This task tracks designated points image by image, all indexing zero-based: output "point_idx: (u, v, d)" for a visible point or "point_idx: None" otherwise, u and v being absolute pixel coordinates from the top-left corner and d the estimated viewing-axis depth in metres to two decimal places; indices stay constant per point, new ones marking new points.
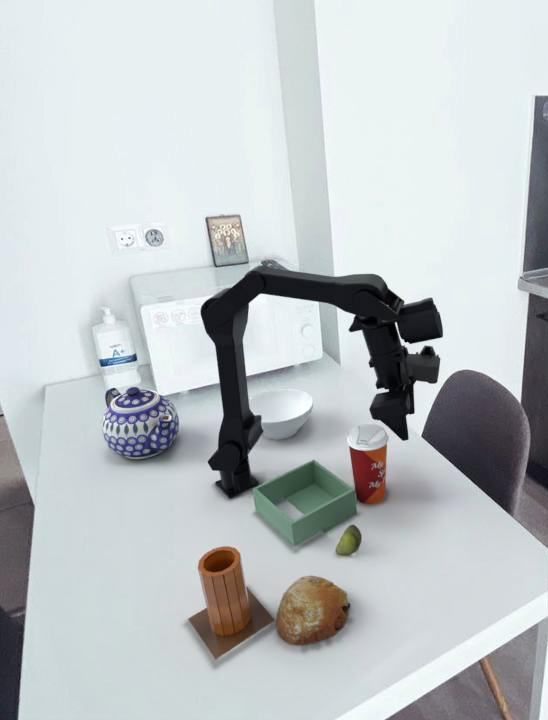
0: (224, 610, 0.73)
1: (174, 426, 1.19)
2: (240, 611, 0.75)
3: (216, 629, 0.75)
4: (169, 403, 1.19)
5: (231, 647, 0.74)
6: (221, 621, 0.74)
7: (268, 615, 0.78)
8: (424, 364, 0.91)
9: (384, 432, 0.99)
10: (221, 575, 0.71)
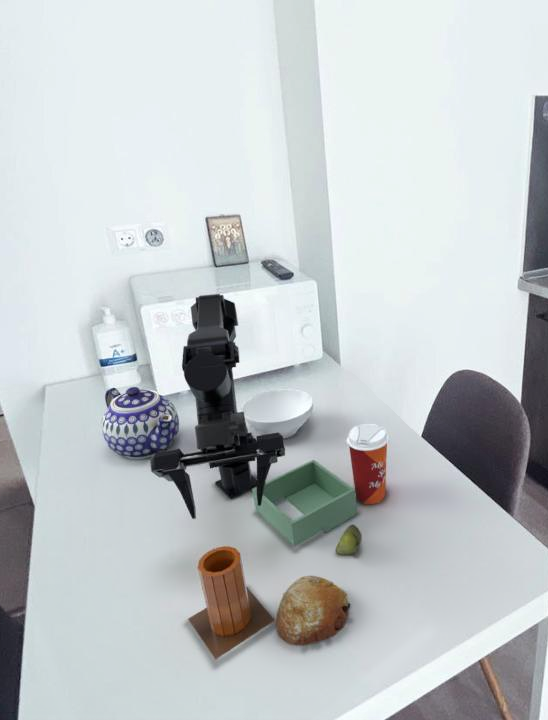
0: (224, 610, 0.73)
1: (174, 426, 1.19)
2: (240, 611, 0.75)
3: (216, 629, 0.75)
4: (169, 403, 1.19)
5: (231, 647, 0.74)
6: (221, 621, 0.74)
7: (268, 615, 0.78)
8: (201, 424, 0.78)
9: (384, 432, 0.99)
10: (221, 575, 0.71)
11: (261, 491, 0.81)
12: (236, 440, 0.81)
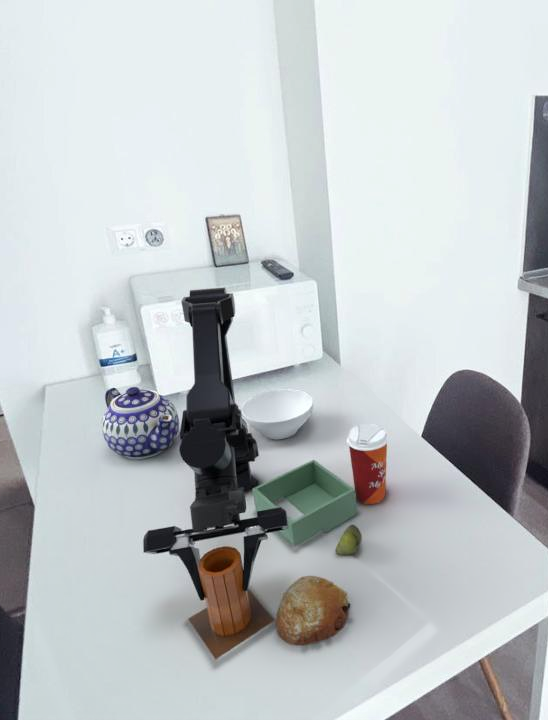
0: (224, 610, 0.73)
1: (174, 426, 1.19)
2: (240, 611, 0.75)
3: (216, 629, 0.75)
4: (169, 403, 1.19)
5: (231, 647, 0.74)
6: (221, 621, 0.74)
7: (268, 615, 0.78)
8: (197, 502, 0.72)
9: (384, 432, 0.99)
10: (221, 575, 0.71)
11: (248, 575, 0.75)
12: (235, 517, 0.75)
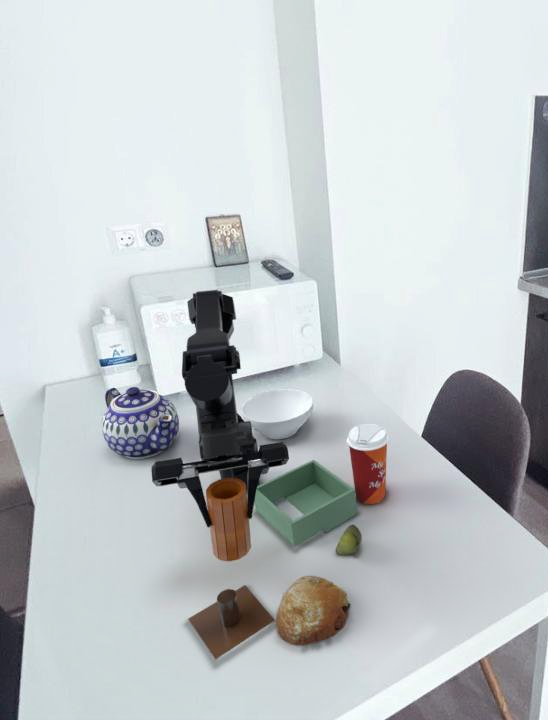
0: (230, 536, 0.78)
1: (174, 426, 1.19)
2: (244, 538, 0.80)
3: (220, 555, 0.79)
4: (169, 403, 1.19)
5: (231, 647, 0.74)
6: (226, 547, 0.79)
7: (268, 615, 0.78)
8: (206, 434, 0.76)
9: (384, 432, 0.99)
10: (230, 501, 0.75)
11: (252, 504, 0.79)
12: (240, 449, 0.79)
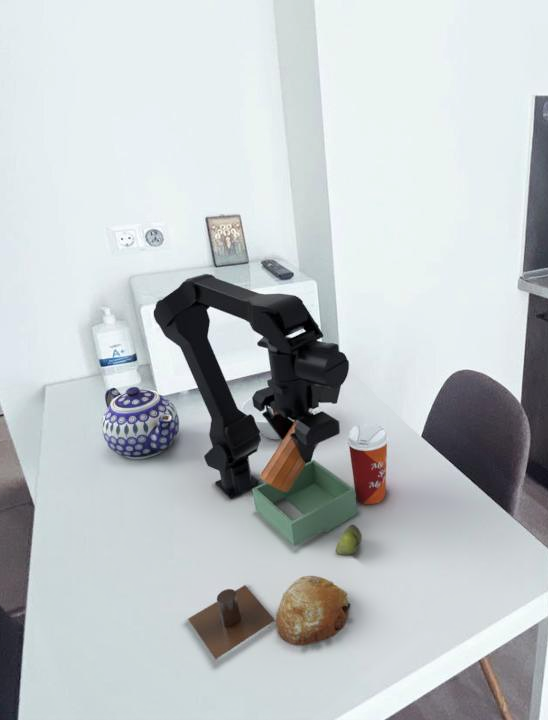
0: None
1: (174, 426, 1.19)
2: None
3: (291, 486, 0.93)
4: (169, 403, 1.19)
5: (231, 647, 0.74)
6: None
7: (268, 615, 0.78)
8: None
9: (384, 432, 0.99)
10: None
11: None
12: None
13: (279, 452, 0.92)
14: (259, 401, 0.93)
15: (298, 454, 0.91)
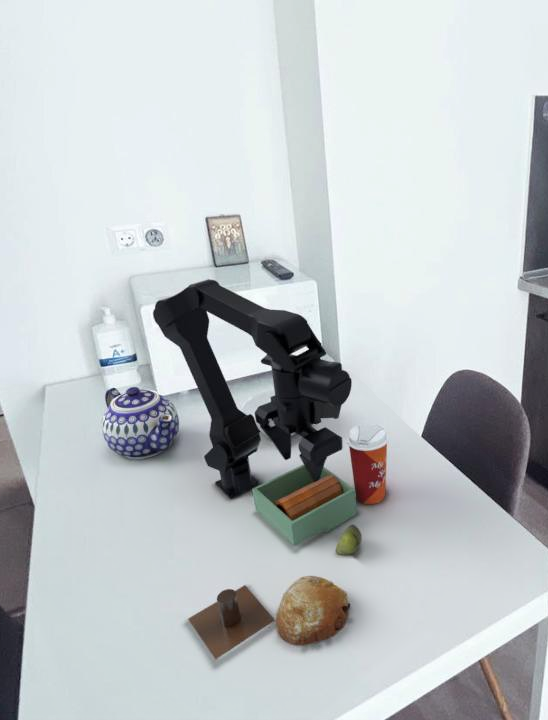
0: None
1: (174, 426, 1.19)
2: None
3: None
4: (169, 403, 1.19)
5: (231, 647, 0.74)
6: None
7: (268, 615, 0.78)
8: None
9: (384, 432, 0.99)
10: None
11: None
12: None
13: (310, 493, 0.96)
14: (261, 417, 0.95)
15: None
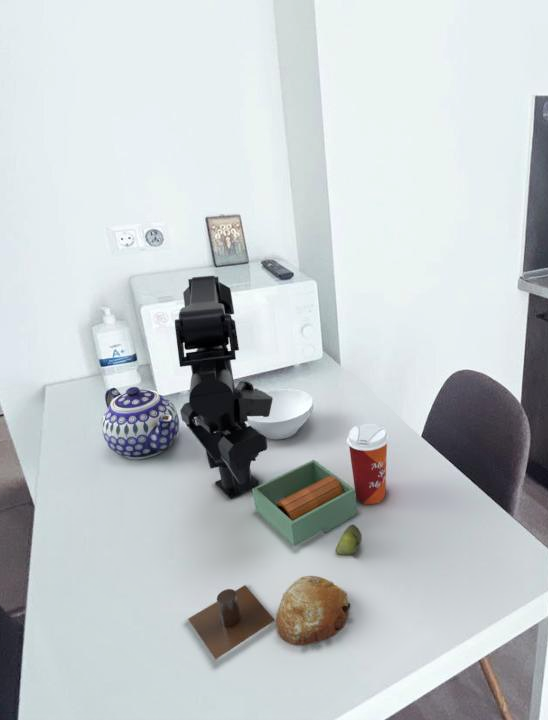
0: None
1: (174, 426, 1.19)
2: None
3: None
4: (169, 403, 1.19)
5: (231, 647, 0.74)
6: None
7: (268, 615, 0.78)
8: (259, 397, 0.88)
9: (384, 432, 0.99)
10: None
11: None
12: None
13: (312, 496, 0.96)
14: (186, 415, 0.89)
15: None
